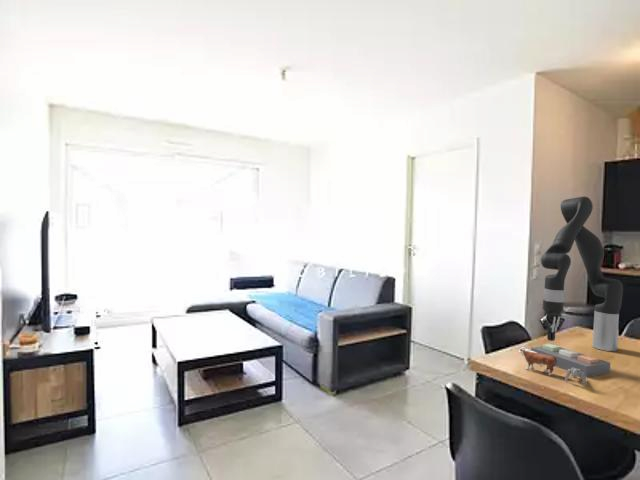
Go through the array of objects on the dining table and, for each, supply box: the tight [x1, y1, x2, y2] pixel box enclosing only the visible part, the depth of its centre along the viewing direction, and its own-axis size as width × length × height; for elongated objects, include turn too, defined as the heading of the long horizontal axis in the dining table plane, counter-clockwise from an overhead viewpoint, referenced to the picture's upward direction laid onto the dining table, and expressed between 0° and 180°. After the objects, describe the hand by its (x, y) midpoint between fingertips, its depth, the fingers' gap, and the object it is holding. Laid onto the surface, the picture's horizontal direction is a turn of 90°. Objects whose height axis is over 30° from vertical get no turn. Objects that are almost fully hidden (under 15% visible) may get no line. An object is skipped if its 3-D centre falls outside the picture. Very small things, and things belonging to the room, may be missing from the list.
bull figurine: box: [518, 346, 557, 376], centre depth 144 cm, size 4×13×8 cm, turn 44°
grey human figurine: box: [564, 368, 588, 387], centre depth 134 cm, size 6×5×12 cm
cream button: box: [559, 348, 580, 358], centre depth 153 cm, size 5×5×3 cm
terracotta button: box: [577, 354, 599, 364], centre depth 146 cm, size 5×5×3 cm
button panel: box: [530, 346, 611, 378], centre depth 153 cm, size 14×23×4 cm, turn 22°
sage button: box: [542, 343, 561, 352], centre depth 160 cm, size 5×5×3 cm
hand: (550, 340), depth 160 cm, fingers closed
